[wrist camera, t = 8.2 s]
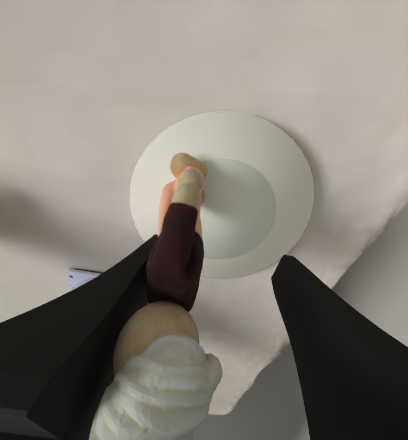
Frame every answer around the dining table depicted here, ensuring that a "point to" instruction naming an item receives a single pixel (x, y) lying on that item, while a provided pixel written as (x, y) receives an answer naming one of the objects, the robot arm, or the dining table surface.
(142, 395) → the grandmother figurine
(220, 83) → the dining table surface
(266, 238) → the dish
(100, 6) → the dining table surface
